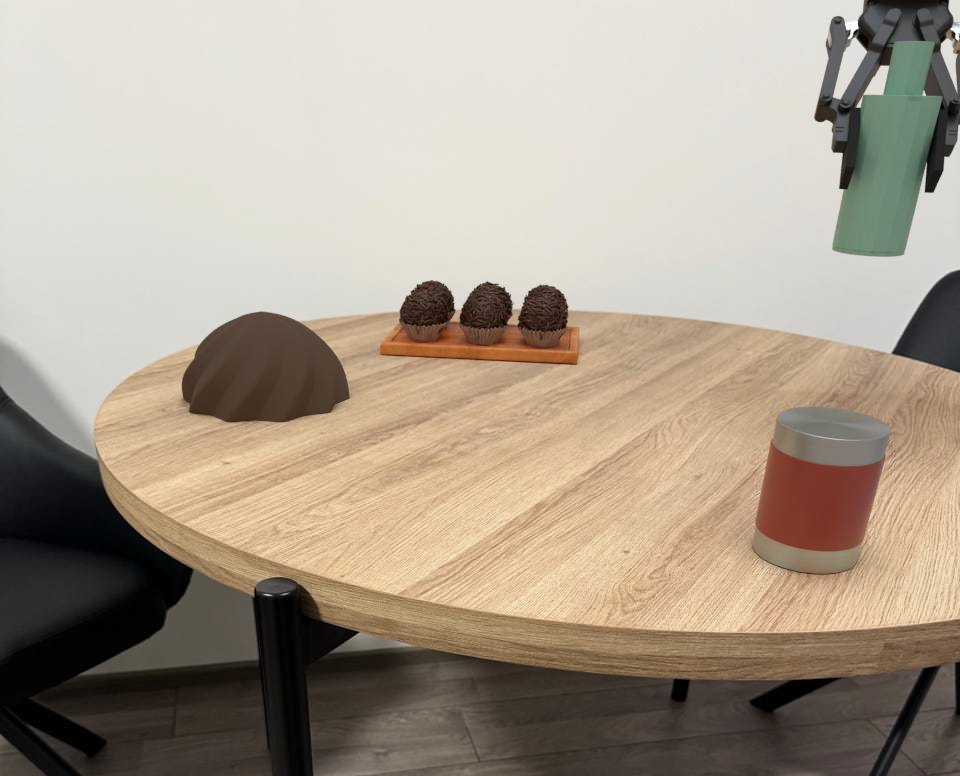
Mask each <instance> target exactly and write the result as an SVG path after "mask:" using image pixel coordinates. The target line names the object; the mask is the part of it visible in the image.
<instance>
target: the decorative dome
mask: <svg viewBox="0 0 960 776" xmlns="http://www.w3.org/2000/svg"><path fill="white" fill-rule="evenodd" d="M181 393H182V399H184V400H185V401H187V402H189V403H190V405H189V408H188V412H189V413H192V414H200V415H205V416H206V415H208V416H212V417H215V418H217V419H220V420H221V421H224V422H228V423H234V422H246V421H247V422H248V421H264V422H275V423H276V422H277V423H284V422H289V421H292V420H294V419H297V418H300V417H303V416H310V415H321V414H328V413H331V412H332V411H333V409H334V406H335V405H336V404H338V403H341V402H343V401H346V400H348V399H350V388H349V382H348V379H347V374H346V371H345V369H344V367H343V365H342V363H341V360H340V358H339V357H338V356H337V354H336V353H335V352H334V350H333V349H332V348H331V347H330V346H329V344H328V343H327V342H326V341H325V340H323V339H322V337H321V336H319V335H318V334H317V333H316V332H315V331H313V330H312V329H311V328H310V327H308V326H307V325H305V324H304V323H302V322H300V321H299V320H296V319H294V318H292V317H290V316H286V315H284V314H280V313H275V312H270V311H255V312H248V313H246V314H242V315H240V316H238V317H236V318H233V319H231V320H229V321H226V322H225V323H223V324H221V325H220V326H218V327H215V329H213V330H212V331H211V332H210V333H209V334H208V335H206V337H204V339H203V340H201V342H200V343H199V344H198V346H197V348H196V350H195V352H194V358H193V359H192V360H191V362H190V363H189V364H188V366H187V368H186V369H185V371H184V373H183V375H182V379H181Z"/></svg>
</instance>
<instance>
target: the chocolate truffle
mask: <svg viewBox="0 0 960 776" xmlns="http://www.w3.org/2000/svg"><path fill="white" fill-rule="evenodd" d="M523 301H524V302H522V306H521V308H520V312H519V315H518V316H517V321H518V323H508V322H509V320H510V319H511V318H512V317H513V315H514V312H513V308H514V303H515V302H513V300H512V294H511V293H510V292H509V291H508V292H507V290H506V287H505V286H500V284H499V283H493V282H490V281H489V280H487V281H485V282H483V283H479V285H476V287H474V288H473V290H472V291H471V292H469V295H468V297H467V298H466V300H465V302H464V303H463V304H462V307H461V310H460V314H459V321H453V320H452V319H453V318H454V316H455V314H456V312H457V310H456V308H455V297H454V295H453V293H452V290H450V289H449V287H448V286H447V285H446V284H445V283H444V282H443V283H442V282H441V281H438V280H433V279H430V280H426V281H422V282H421V283H420V284H419V283H416V287H414V289H412V290H411V291H410V294H408V295H405V298H404V301H403V302H402V304H401V306H400V309H399V319H398V323H397V324H396V325H395V326H394V327H393V329H392V330H391V331H390V332H389V333H388V334H387V336H386V337H385V338H384V339H383V340H382V341H381V343H380V344H379V353H380V354H381V355H384V356H403V357H405V356H406V357H427V358H445V359H447V358H449V359H465V360H466V359H469V360H485V361H486V360H489V361H506V362H507V361H508V362H509V361H510V362H529V363H530V362H532V363H550V364H551V363H552V364H568V365H569V364H570V365H571V364H572V365H576V364H577V363H578V359H579V358H578V357H579V345H580V327H579V326H567V325H568V323H569V322H568V321H569V320H568V319H569V307H570V306H569V305H568V303H567V298H566V296H565V294H564V293H562V291H561V290H560V289H557V288H556V286H554V285H552V286H551V285H549V284H539V285H537V286H536V287H533V288H531V290H528V291H527V294H525V296H524V299H523Z"/></svg>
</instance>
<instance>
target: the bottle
mask: <svg viewBox="0 0 960 776" xmlns="http://www.w3.org/2000/svg"><path fill="white" fill-rule="evenodd" d="M934 44H935V42H928V41H900V42H894V46H893V51H892V56H891V60H890V65H889V66H888V70H887V74H886V78H885V79H886V80H885V83H884V88H883V94H863V96H862V98H861V103H860V108H861V109H860V119H859V130H858V140H857V150H856V160H855V168H854V171H853V174H852V177H851V180H850V183H849V186H848V189H843V191H842V196H841V200H840V206H839V211H838V215H837V221H836V225H835V231H834V235H833V240H832V244H831V245H832V248H831V250H832V251H834V252H836V253H840V254H846V255H853V256H859V257H860V256H863V257H876V258H879V257H882V258H890V257H891V258H893V257H894V258H895V257H902V256H904V255H905V252H906V248H907V245H908V241H909V237H910V232H911V230H912V229H911V228H912V224H913V220H914V216H915V212H916V208H917V204H918V199H919V195H920V191H921V187H922V184H923V183H922V182H923V179H924V176H925V175H924V174H925V172H926V168H927V159H928V155H929V151H930V147H931V142H932V138H933V134H934V130H935V126H936V122H937V118H938V114H939V110H940V106H941V102H942V96H926V95H924V92H925V91H924V87H925V82H926V78H927V74H928V70H929V65H930V61H931V57H932V53H933V48H934Z"/></svg>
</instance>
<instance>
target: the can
mask: <svg viewBox="0 0 960 776" xmlns="http://www.w3.org/2000/svg"><path fill="white" fill-rule="evenodd" d="M775 419H776V420H775V425H774V430H773V434H772V435H773V436H772V438H771V440H770V444H769V449H768V453H767V459H766V463H765V468H764V474H763V480H762V485H761V490H760V494H759V501H758V504H757V511H756V515H755V519H754V520H755V521H754V524H755V526H754V532H753V538H752V543H751V546H752V549H753V551H754V552H755V553H756V555H757V556H759V557H760V558H761V559H762V560H764V561H766V562H768V563H770V564H772V565H775V566H777V567H780V568H783V569H786V570H789V571H794V572H800V573H805V574H814V575H815V574H817V575H827V574H829V575H830V574H837V573H841V572H842V573H843V572H845V571H847V570H850V569H852V568H853V567H854V566H855V565H856V564H857V561H858V559H859V558H858V557H859V554H860V551H861V547H862V543H863V542H864V540H865V536H866V534H867V533H866V532H867V530H868V525H869V522H870V518H871V514H872V511H873V507H874V502H875V499H876V495H877V492H878V486H879V483H880V480H881V476H882V472H883V468H884V464H885V461H886V452H887V447H888V444H889V440H890V436H891V432H892V429H891V426H889V424H888V423H887V422H885V421H883V420H881V419H879V418H877V417H876V416H873V415H870V414H867V413H863V412H859V411H854V410H850V409H844V408H838V407H830V406H797V407H791V408H787V409H784V410H782V411H780V412H779V413H777V416H776V418H775Z"/></svg>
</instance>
